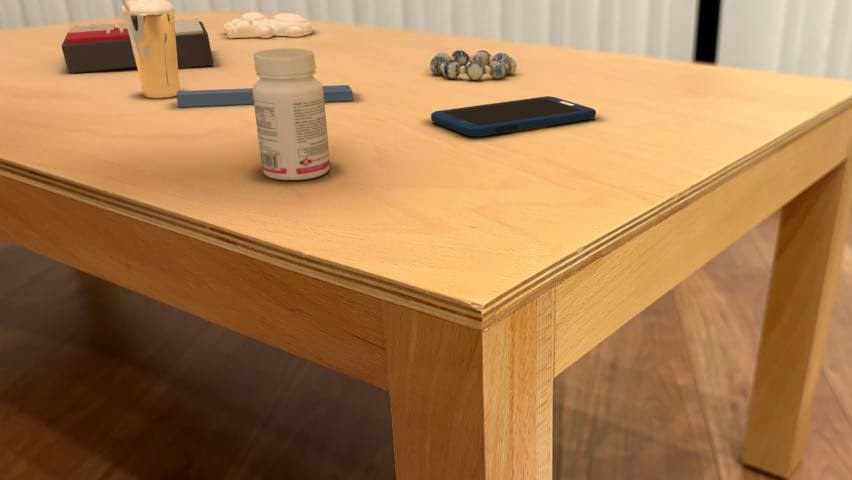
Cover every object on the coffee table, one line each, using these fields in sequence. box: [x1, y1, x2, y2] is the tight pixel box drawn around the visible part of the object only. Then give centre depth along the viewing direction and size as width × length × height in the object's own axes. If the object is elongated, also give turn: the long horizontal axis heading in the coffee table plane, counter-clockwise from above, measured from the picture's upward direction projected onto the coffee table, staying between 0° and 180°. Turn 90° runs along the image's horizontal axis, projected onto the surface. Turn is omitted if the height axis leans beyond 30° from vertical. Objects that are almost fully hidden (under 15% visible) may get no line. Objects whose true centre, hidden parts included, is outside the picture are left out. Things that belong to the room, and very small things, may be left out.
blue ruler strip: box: [175, 84, 354, 108], centre depth 83 cm, size 16×3×1 cm, turn 108°
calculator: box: [61, 18, 214, 74], centre depth 99 cm, size 11×4×15 cm
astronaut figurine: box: [222, 11, 313, 39], centre depth 121 cm, size 9×12×3 cm
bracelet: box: [429, 49, 517, 81], centre depth 98 cm, size 10×10×2 cm
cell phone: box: [430, 95, 597, 137], centre depth 78 cm, size 7×14×1 cm, turn 127°
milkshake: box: [120, 0, 181, 99], centre depth 82 cm, size 4×5×10 cm
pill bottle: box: [252, 48, 331, 181], centre depth 60 cm, size 5×5×8 cm
